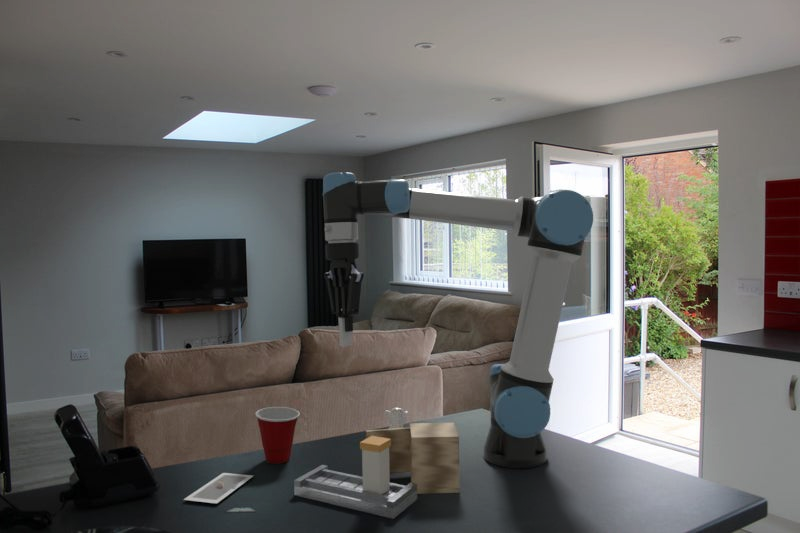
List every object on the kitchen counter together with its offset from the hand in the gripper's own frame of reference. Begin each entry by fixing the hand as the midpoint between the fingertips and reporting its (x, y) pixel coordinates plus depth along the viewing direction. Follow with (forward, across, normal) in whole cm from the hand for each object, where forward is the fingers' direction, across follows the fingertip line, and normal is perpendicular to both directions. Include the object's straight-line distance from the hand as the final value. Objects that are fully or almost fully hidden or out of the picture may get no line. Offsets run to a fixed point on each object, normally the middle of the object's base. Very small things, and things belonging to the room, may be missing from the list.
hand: (346, 345), depth 136 cm
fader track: (+30, +11, -6) cm, 32 cm away
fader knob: (+28, +16, -4) cm, 32 cm away
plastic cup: (+29, -20, -8) cm, 36 cm away
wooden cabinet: (+30, +13, +7) cm, 34 cm away
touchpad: (+30, -12, -27) cm, 42 cm away
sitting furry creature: (+30, -3, +15) cm, 34 cm away
